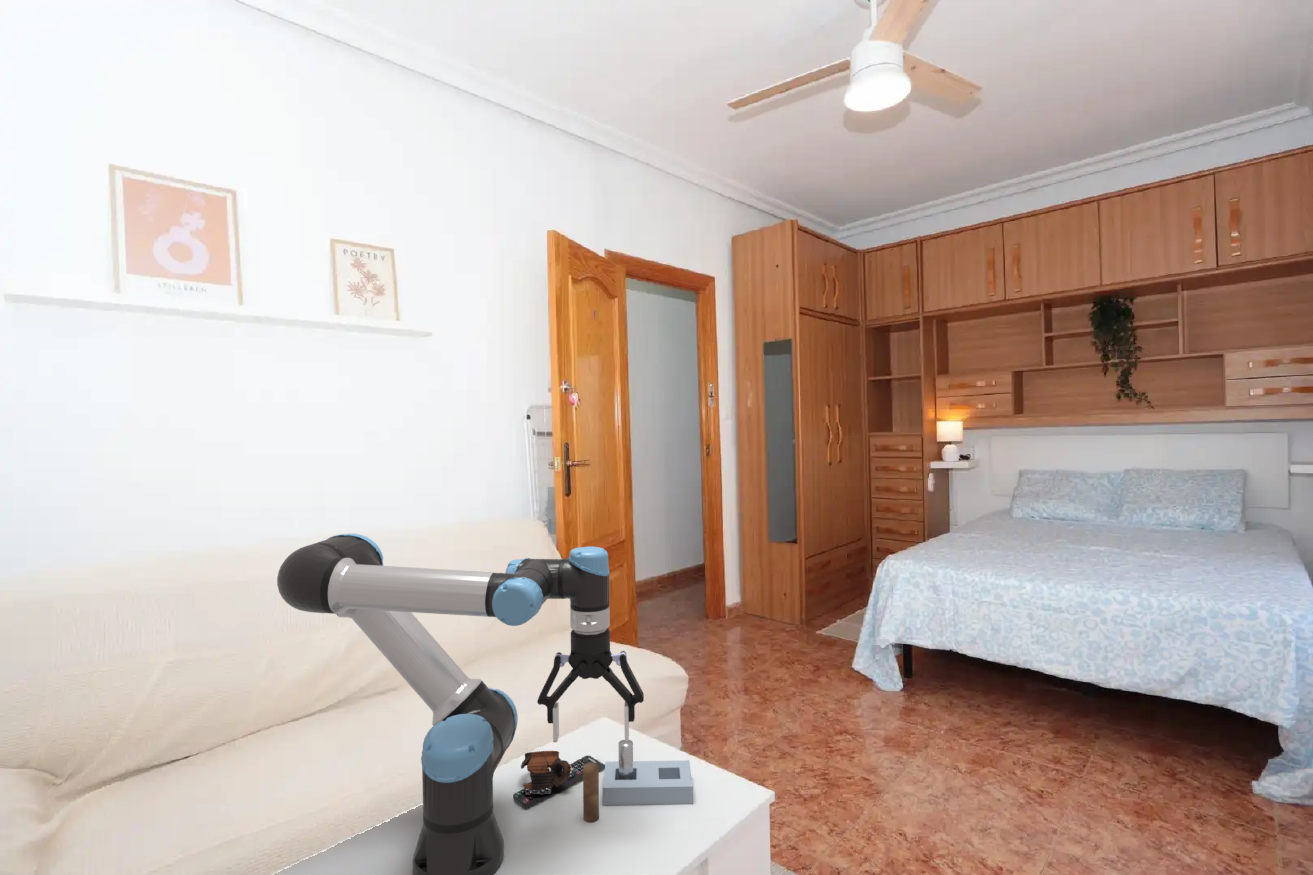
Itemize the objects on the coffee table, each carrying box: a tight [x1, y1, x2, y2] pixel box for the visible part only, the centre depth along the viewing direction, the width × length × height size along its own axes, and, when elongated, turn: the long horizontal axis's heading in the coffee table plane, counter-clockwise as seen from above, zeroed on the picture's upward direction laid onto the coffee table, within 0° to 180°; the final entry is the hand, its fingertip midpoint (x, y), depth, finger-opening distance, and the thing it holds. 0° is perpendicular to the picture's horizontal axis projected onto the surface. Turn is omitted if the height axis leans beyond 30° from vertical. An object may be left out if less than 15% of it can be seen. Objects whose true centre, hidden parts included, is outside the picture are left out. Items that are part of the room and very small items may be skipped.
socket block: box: [602, 759, 694, 806], centre depth 135 cm, size 18×10×4 cm, turn 91°
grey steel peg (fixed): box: [618, 739, 634, 780], centre depth 135 cm, size 3×3×10 cm
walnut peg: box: [582, 762, 600, 823], centre depth 126 cm, size 3×3×10 cm
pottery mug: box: [520, 750, 572, 790], centre depth 137 cm, size 12×10×8 cm
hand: (591, 738), depth 125 cm, fingers open, 13 cm apart
